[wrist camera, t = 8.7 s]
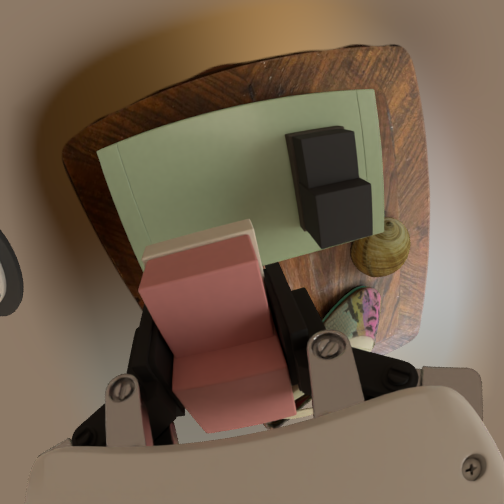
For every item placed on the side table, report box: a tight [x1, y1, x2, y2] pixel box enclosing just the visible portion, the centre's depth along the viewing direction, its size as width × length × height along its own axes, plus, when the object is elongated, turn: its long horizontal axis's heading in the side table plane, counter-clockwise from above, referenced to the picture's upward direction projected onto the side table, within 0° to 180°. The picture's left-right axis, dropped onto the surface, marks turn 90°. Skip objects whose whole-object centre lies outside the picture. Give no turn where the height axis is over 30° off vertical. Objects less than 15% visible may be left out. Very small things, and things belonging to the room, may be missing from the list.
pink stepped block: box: [139, 219, 297, 433], centre depth 10 cm, size 7×4×4 cm, turn 12°
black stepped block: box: [285, 126, 373, 249], centre depth 18 cm, size 7×4×4 cm, turn 12°
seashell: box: [351, 217, 410, 277], centre depth 36 cm, size 10×7×8 cm
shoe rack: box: [97, 89, 384, 273], centre depth 25 cm, size 20×12×12 cm, turn 102°
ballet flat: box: [263, 286, 381, 430], centre depth 42 cm, size 10×30×11 cm, turn 145°
